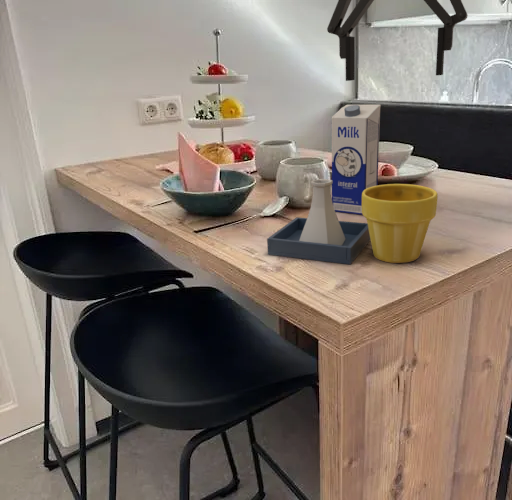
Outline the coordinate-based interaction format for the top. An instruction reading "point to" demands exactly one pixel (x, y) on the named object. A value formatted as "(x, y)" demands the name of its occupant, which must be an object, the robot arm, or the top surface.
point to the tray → (290, 246)
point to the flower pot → (398, 219)
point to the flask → (322, 217)
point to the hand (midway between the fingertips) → (393, 78)
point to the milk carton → (354, 155)
